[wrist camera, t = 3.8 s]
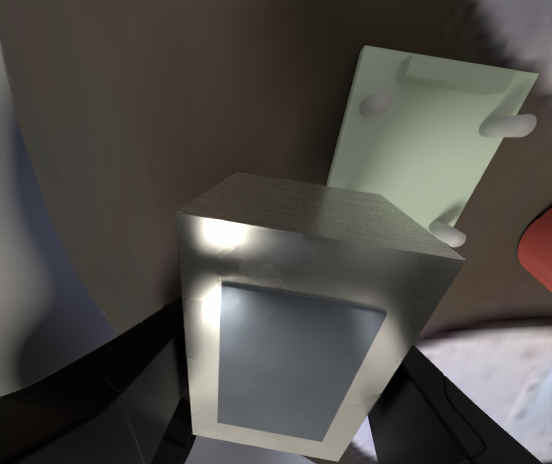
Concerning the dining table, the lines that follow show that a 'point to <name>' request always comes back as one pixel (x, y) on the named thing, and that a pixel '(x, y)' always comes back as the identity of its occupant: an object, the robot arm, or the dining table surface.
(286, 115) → the dining table surface
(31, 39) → the dining table surface
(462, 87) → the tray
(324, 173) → the dining table surface
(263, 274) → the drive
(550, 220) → the flower pot
